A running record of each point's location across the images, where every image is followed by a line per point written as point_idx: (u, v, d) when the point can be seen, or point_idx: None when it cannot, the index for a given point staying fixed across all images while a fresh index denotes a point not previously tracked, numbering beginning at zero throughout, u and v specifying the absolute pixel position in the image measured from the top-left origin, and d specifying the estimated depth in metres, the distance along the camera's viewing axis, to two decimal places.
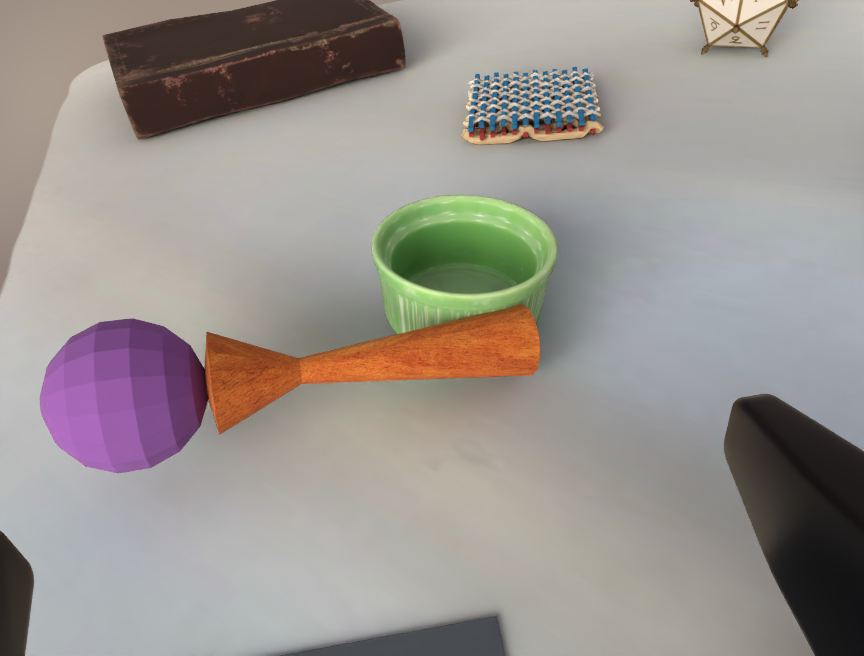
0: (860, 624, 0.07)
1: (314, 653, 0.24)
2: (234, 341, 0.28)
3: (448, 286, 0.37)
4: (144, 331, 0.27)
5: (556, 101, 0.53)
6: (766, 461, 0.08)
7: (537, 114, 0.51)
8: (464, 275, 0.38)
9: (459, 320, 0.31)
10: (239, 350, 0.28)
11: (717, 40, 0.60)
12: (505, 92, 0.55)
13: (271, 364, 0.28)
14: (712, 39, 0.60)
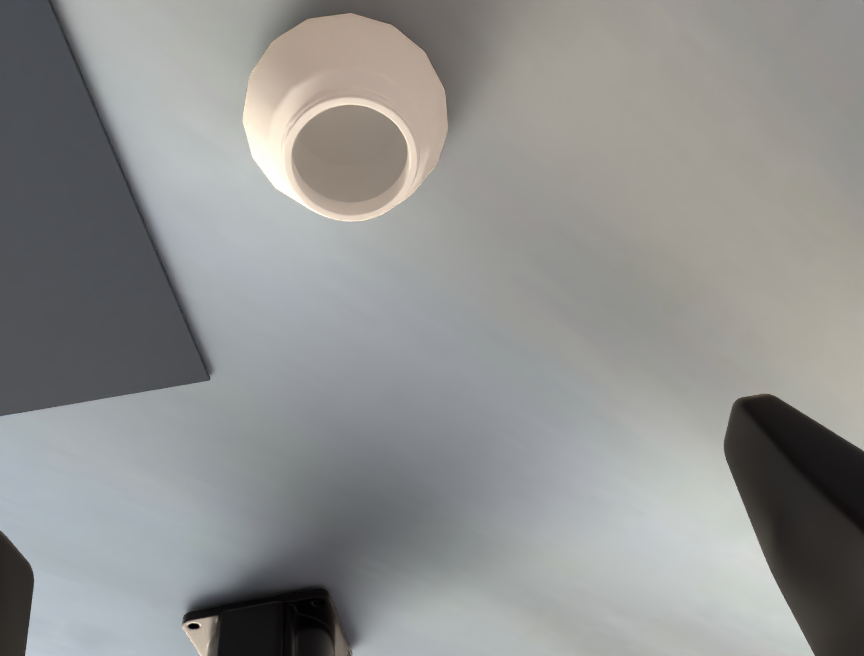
0: (860, 624, 0.07)
1: None
2: None
3: None
4: None
5: None
6: (766, 461, 0.08)
7: None
8: None
9: None
10: None
11: None
12: None
13: None
14: None
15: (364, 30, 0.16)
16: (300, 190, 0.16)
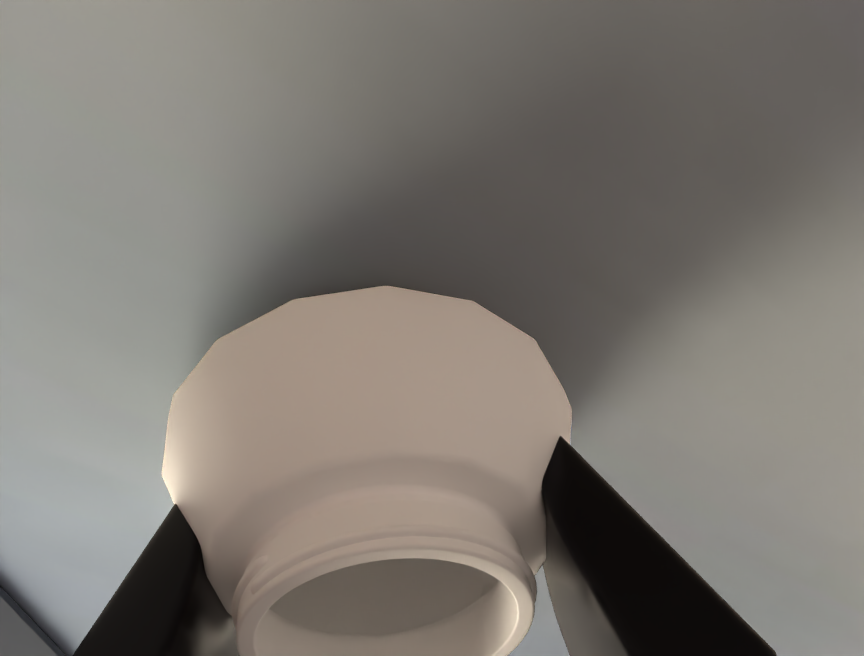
0: None
1: None
2: None
3: None
4: None
5: None
6: None
7: None
8: None
9: None
10: None
11: None
12: None
13: None
14: None
15: (417, 336, 0.07)
16: None
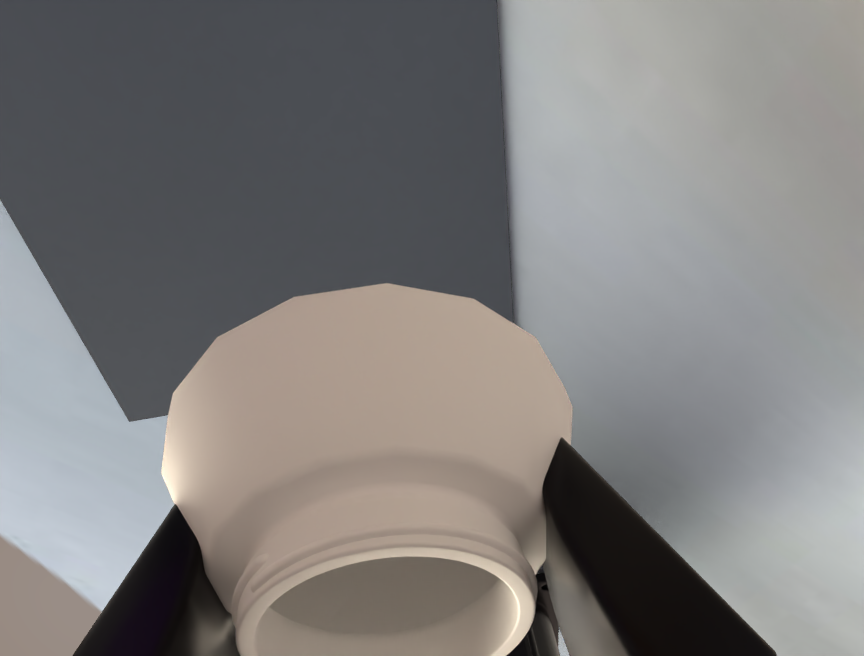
0: None
1: None
2: None
3: None
4: None
5: None
6: None
7: None
8: None
9: None
10: None
11: None
12: None
13: None
14: None
15: (418, 334, 0.07)
16: None
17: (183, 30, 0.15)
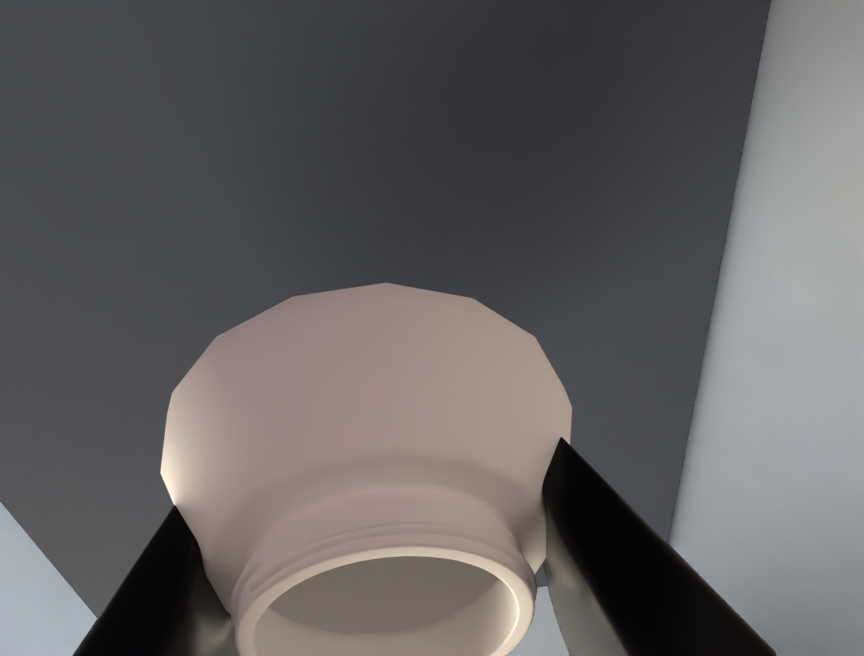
0: None
1: None
2: None
3: None
4: None
5: None
6: None
7: None
8: None
9: None
10: None
11: None
12: None
13: None
14: None
15: (417, 334, 0.07)
16: None
17: (233, 189, 0.09)
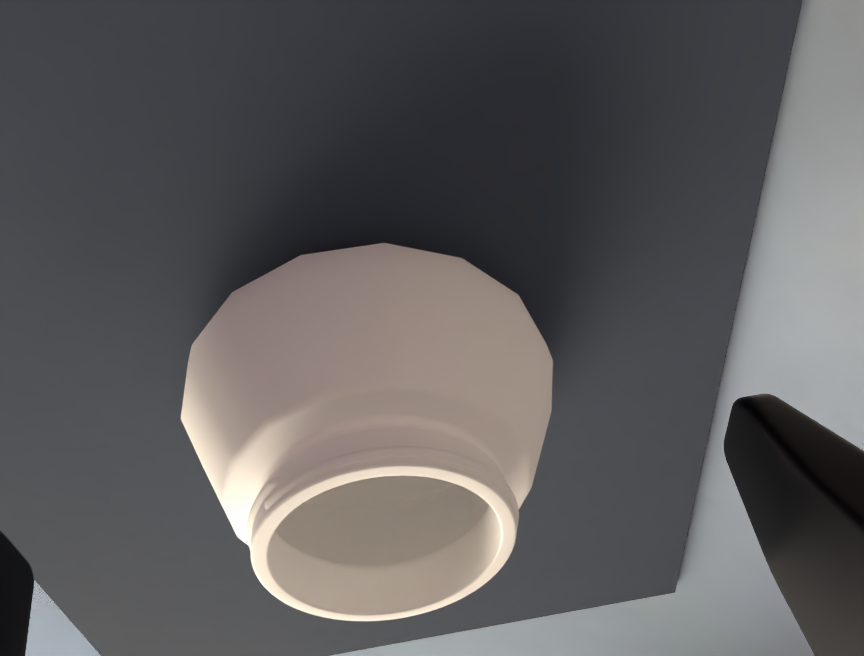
0: (860, 624, 0.07)
1: None
2: None
3: None
4: None
5: None
6: (766, 461, 0.08)
7: None
8: None
9: None
10: None
11: None
12: None
13: None
14: None
15: (412, 286, 0.08)
16: (286, 594, 0.08)
17: (237, 222, 0.08)
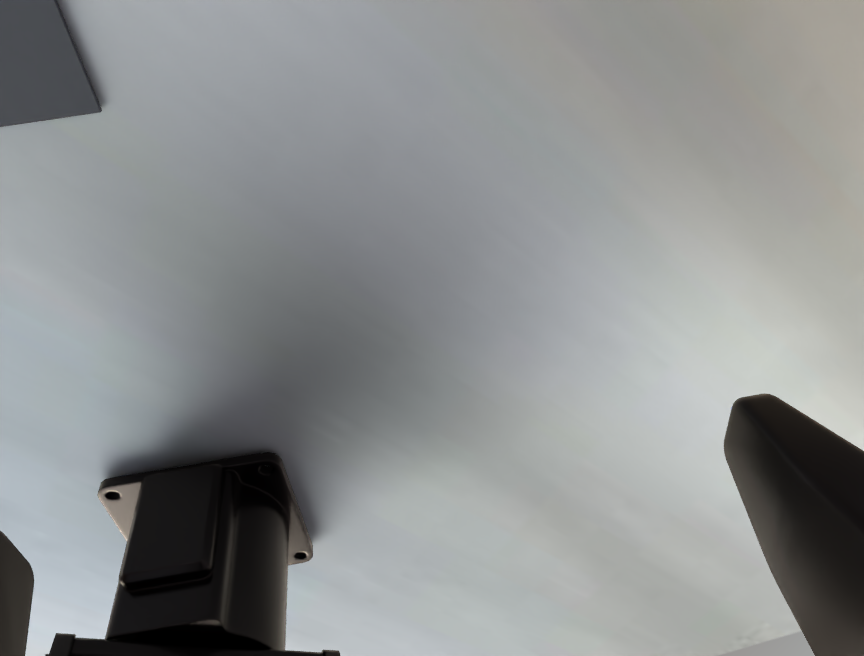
0: (860, 624, 0.07)
1: None
2: None
3: None
4: None
5: None
6: (766, 461, 0.08)
7: None
8: None
9: None
10: None
11: None
12: None
13: None
14: None
15: None
16: None
17: None
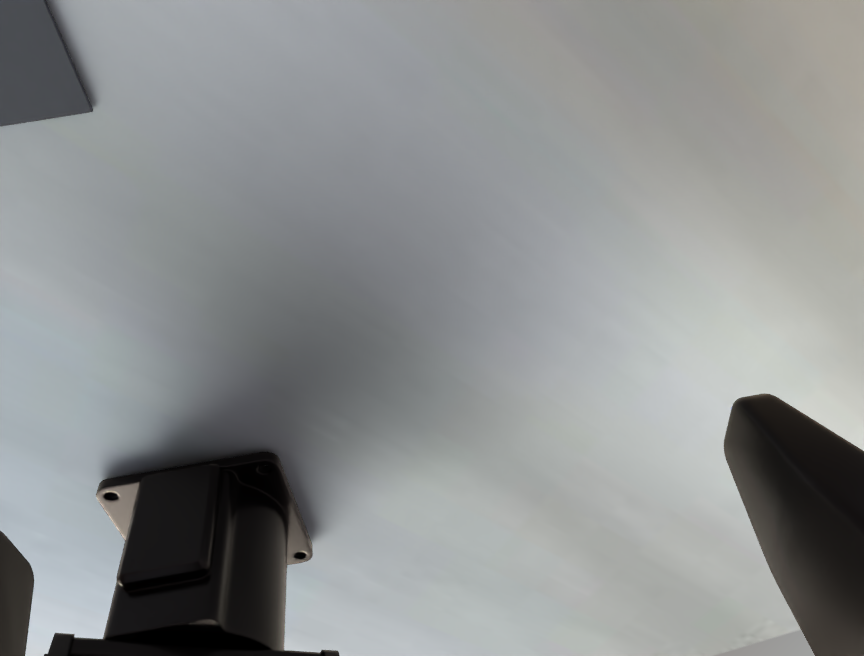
0: (860, 624, 0.07)
1: None
2: None
3: None
4: None
5: None
6: (766, 461, 0.08)
7: None
8: None
9: None
10: None
11: None
12: None
13: None
14: None
15: None
16: None
17: None
